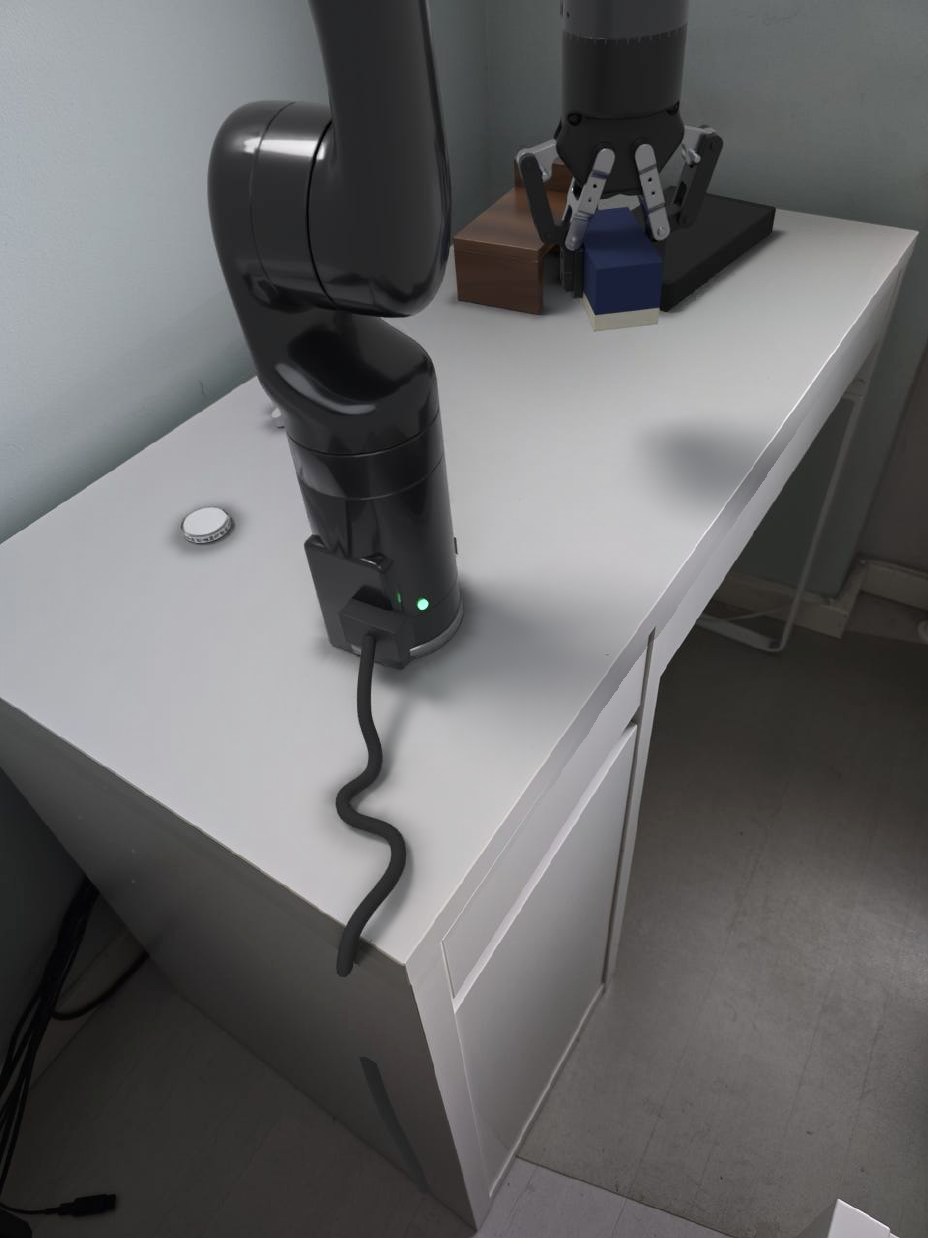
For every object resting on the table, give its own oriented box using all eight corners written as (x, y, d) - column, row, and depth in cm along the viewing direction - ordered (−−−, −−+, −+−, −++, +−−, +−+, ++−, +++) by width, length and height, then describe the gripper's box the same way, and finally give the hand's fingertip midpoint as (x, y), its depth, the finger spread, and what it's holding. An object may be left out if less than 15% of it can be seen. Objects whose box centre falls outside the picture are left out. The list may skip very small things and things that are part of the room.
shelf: (538, 314, 94) (537, 219, 87) (457, 300, 98) (450, 207, 90) (596, 253, 103) (599, 163, 96) (520, 242, 107) (518, 154, 100)
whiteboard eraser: (658, 324, 62) (664, 260, 58) (593, 331, 61) (596, 268, 58) (624, 265, 69) (628, 205, 65) (566, 271, 68) (567, 212, 65)
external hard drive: (558, 280, 99) (558, 254, 97) (667, 209, 110) (669, 184, 108) (668, 312, 92) (670, 284, 90) (772, 233, 103) (776, 206, 101)
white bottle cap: (235, 510, 74) (233, 504, 73) (225, 541, 71) (223, 535, 70) (188, 512, 74) (186, 506, 73) (177, 543, 71) (175, 538, 71)
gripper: (516, 43, 50) (523, 325, 62) (762, 16, 50) (721, 302, 62) (498, 15, 55) (507, 280, 67) (721, -9, 55) (691, 258, 67)
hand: (610, 289), depth 65 cm, fingers closed on whiteboard eraser, 4 cm apart
